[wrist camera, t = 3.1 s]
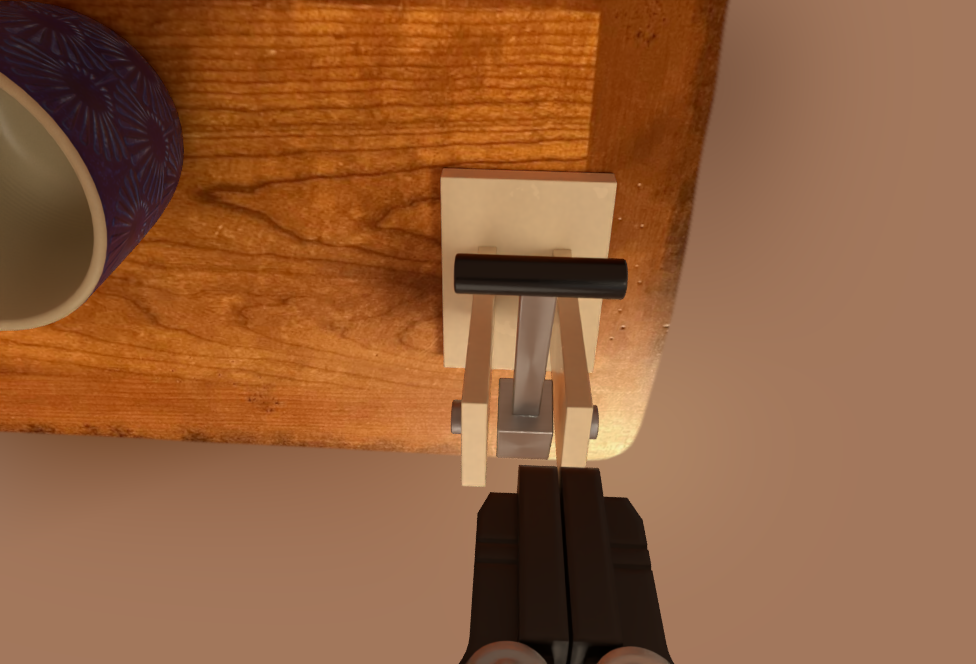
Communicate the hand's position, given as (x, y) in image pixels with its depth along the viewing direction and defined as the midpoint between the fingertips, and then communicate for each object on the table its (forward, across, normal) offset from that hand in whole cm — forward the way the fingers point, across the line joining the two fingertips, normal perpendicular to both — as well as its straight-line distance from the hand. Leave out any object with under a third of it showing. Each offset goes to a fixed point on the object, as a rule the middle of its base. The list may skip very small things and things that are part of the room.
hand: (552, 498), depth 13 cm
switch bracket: (+26, 0, +9) cm, 28 cm away
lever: (+12, 0, +4) cm, 13 cm away
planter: (+26, +23, +1) cm, 35 cm away
